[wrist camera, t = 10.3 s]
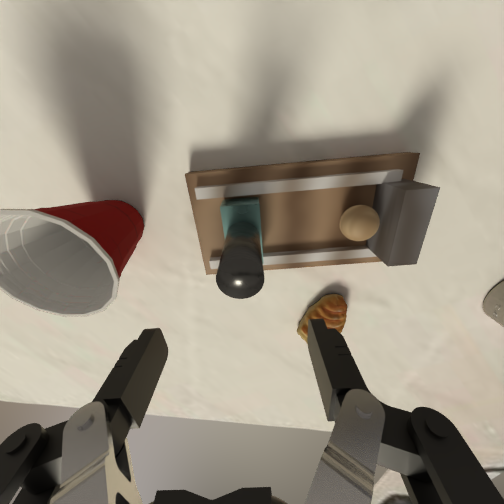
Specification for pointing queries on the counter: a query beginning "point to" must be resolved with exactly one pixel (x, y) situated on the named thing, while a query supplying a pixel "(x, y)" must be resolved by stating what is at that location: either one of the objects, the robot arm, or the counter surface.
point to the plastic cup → (67, 255)
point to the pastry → (325, 314)
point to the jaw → (241, 248)
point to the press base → (319, 209)
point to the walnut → (359, 222)
